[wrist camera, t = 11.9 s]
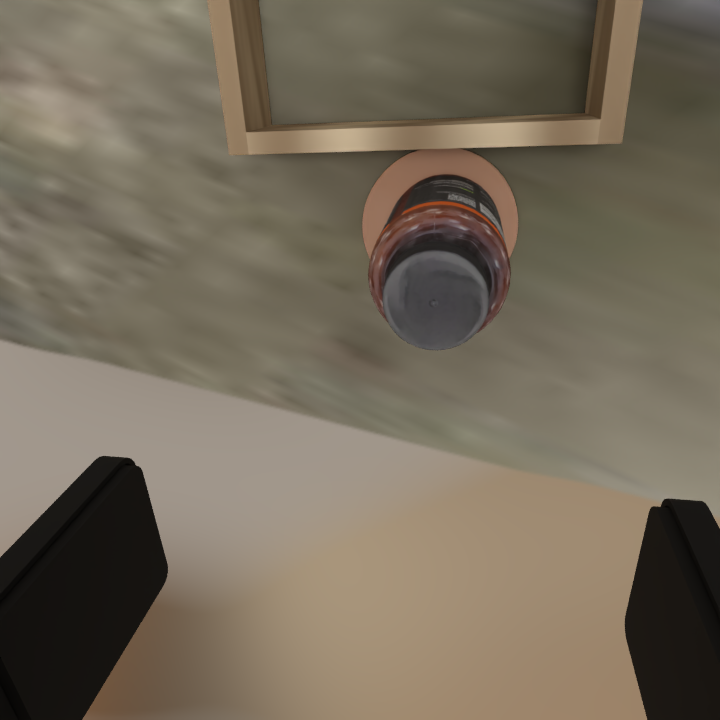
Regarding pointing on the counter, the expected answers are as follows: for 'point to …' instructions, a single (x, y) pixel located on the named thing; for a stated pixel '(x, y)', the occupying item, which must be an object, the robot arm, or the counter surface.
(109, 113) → the counter surface
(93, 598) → the robot arm
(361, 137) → the frame
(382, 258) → the supplement bottle
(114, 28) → the counter surface
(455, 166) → the saucer
